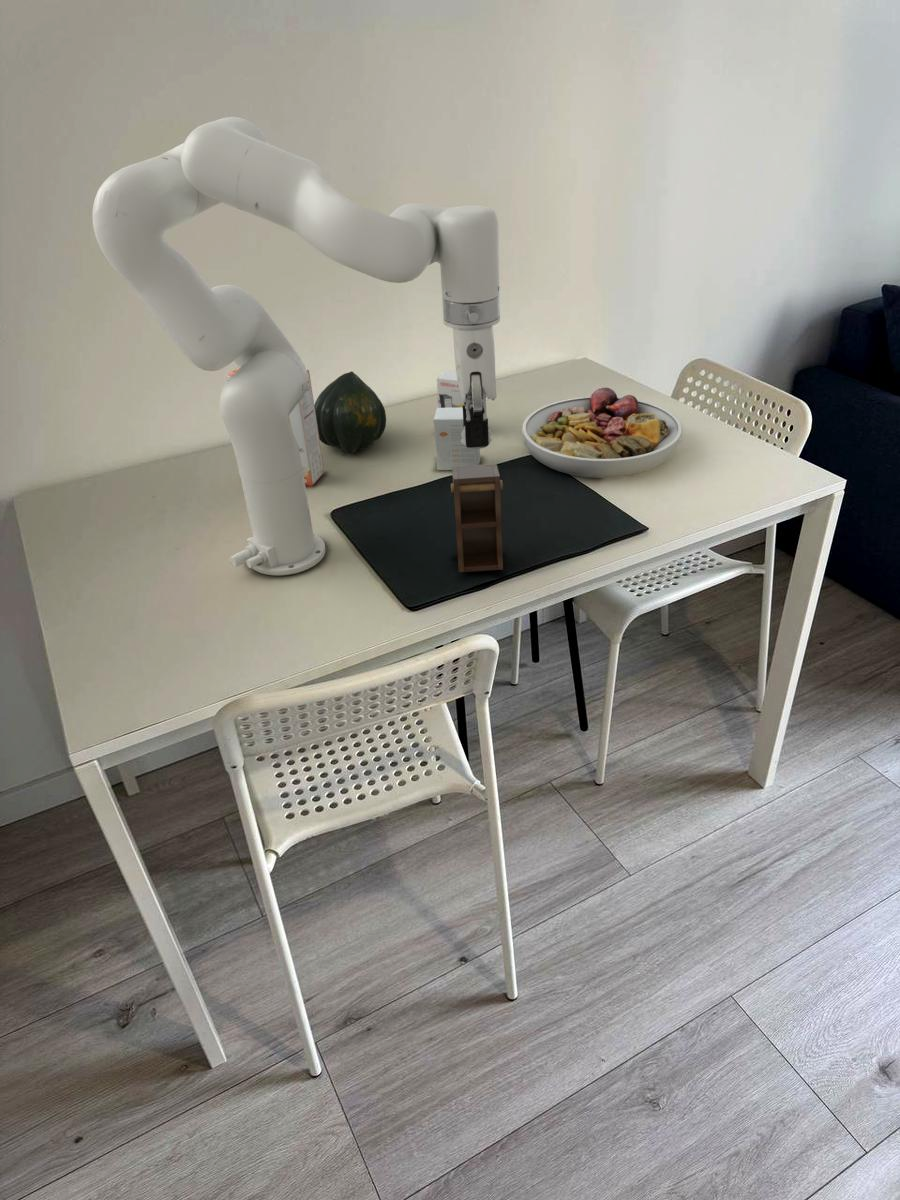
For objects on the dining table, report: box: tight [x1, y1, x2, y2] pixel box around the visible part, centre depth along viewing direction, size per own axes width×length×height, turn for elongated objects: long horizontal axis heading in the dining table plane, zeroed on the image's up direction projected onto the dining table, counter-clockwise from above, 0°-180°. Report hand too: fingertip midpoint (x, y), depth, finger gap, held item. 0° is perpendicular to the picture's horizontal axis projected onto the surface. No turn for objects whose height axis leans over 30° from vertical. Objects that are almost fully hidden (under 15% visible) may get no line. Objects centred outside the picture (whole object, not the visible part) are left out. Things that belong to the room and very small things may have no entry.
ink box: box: [436, 369, 465, 408], centre depth 176 cm, size 9×5×12 cm, turn 70°
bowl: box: [521, 387, 683, 479], centre depth 166 cm, size 30×30×8 cm
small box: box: [432, 407, 481, 471], centre depth 163 cm, size 8×6×10 cm
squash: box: [314, 371, 387, 454], centre depth 173 cm, size 14×15×15 cm
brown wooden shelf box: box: [450, 463, 504, 573], centre depth 132 cm, size 15×8×6 cm
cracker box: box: [225, 366, 325, 487], centre depth 160 cm, size 14×6×21 cm, turn 73°
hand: (475, 437), depth 124 cm, fingers closed on rook chess piece, 4 cm apart
